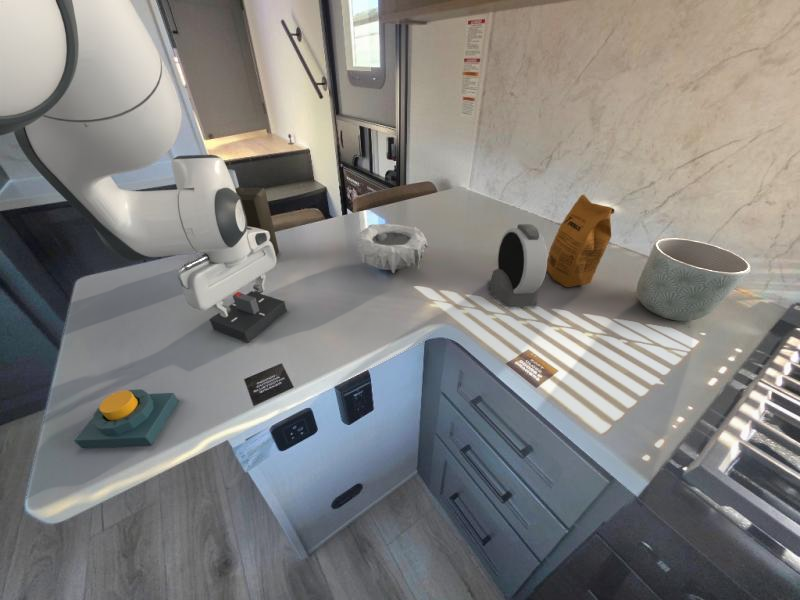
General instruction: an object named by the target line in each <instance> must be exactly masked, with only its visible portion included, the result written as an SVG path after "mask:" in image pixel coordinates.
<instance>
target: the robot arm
mask: <svg viewBox="0 0 800 600" xmlns="http://www.w3.org/2000/svg"><path fill="white" fill-rule="evenodd" d="M172 79H173V78H172V77H171V74H170V72H169V70H168V68H167V66H166V64H165V62H164V60H163V58H162V56H161V54H160V51H159V50H158V48H157V45H156V44H155V42H154V40H153V39H152V37H151V35H150V33H149V31H148V29H147V27H146V26H145V24H144V22H143V20H142V19H141V16H140V14H139V13H138V12H137V10H136V8H135V6H134V5H133V3H132V1H131V0H0V136H4V135H7V134H11V133H13V134H14V138H15V139H16V141H17V143H18V146H19V148H20V149H21V151H22V153H23V154H24V156H25V157H26V158H27V160H28V161H29V162H30V163H31V165H32V166H33V167H34V168H35V169H36V170H37V172H38V173H39V174H40V175H41V176H42V177H43V178H44V179H45V180H46V182H47V183H49V184H50V185H51V187H53V188H54V190H56V192H57V193H59V195H60V196H62V198H64V199H65V200H66V201H67V202H68V204H69V205H71V206H72V208H73V209H74V210H75V211H76V212H77V213H79V214H80V216H82V217H83V218H84V219H85V220H86V221H87V222H88V223H89V224H90V225H91V227H93V229H94V231H95V232H96V233H97V235H98V237H99V239H100V240H101V241H102V242H103V244H104V246H106V248H108V249H109V250H110V251H111V252H113V253H114V254H116V255H117V256H119V257H121V258H123V259H126V260H128V261H131V262H135V263H136V262H142V261H149V260H153V259H159V258H162V257H173V256H181V255H189V254H191V255H192V254H200V255H199V256H197V257H195V258H194V259H192V260H190V261H187V262H185V263H182V265H181V268H179V270H178V272H177V278H178V281H179V284H180V285H181V287H182V291H183V295H184V299H185V301H186V303H187V305H188V306H189V307H191V308H194V309H197V310H200V311H207V310H209V309H210V308H214V309H216V310H217V311H218V313H219V314H220V315H221V316H223V317H227V316H229V315H230V314H231V313H232V312H231V309H230V307H228V306H229V305H228V306H226V305H224V301H223V300H224V299H226V298H227V297H228V298H229V296H231V295H232V294H235V293H237V292H238V291H239V290H240V289H242V288H243V287H245V286H247V285H248V284H250V283H252V282H254V281H255V284H254V285H252V289H253V292H255V293H258V294H263V293H264V292H265V291H266V290H265V289H266V288H265V286H264V285H265V282H266V278H267V275H266V273H268V272H269V271H271V270H272V269H274V268H275V267H276V265H277V262H278V261H277V256H276V255H275V251H274V248H273V245H272V243H271V242H270V241H269V240H270V234H269V232H268V231H266V230H263V229H259V228H254V227H249V226H247V219H246V215H245V211H244V208H243V204H242V200H241V197H240V196H239V195H237V193H236V190H235V187H234V184H233V181H232V179H231V176H230V174H229V171H228V170H229V169H228V167H227V165H226V162H225V161H224V159H223V158H222V157H220V156H218V155H216V154H187V155H186V154H185V155H178V156H175V157H174V158H172V159H171V169H172V174H173V178H174V181H175V182H174V183H175V185H176V189H160V190H144V191H143V190H127V189H122V188H119V186H118V185H117V183H116V182H115V180H114V179H113V178H112V177H113V176H116V175H121V174H125V173H130V172H135V171H138V170H143V169H145V168H147V167H150V166H152V165H153V164H155V163H156V162H158V161H159V160H161V159H162V158H163V157H164V156H165V155H166V154H167V153H168V152H169V151H170V150H171V148H172V147H173V145H174V144H175V142H176V141H177V139H178V136H179V134H180V131H181V127H182V118H183V117H182V116H183V114H182V113H183V112H182V107H181V102H180V99H179V96H178V93H177V89H176V87H175V84H174V82H173V80H172Z"/></svg>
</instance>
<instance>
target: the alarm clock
mask: <svg viewBox="0 0 800 600" xmlns="http://www.w3.org/2000/svg"><path fill="white" fill-rule="evenodd" d="M547 259H548V249H547V246H546V241H545V239H544V237H543V235H542V234H541V233H540V232H539V229H538V228H537V227H536V226H535V225H533V224H531V223H530V224H529V223H521V224H520V223H518V224H517V227H510V228H509V229H507V230H506V231H505V232H504V234H503V235H502V237H501V239H500V242H499V245H498V250H497V257H496V265H497V266H496V268H495V269H494V270H493V271H492V274H491V277H490V281H489V288H490V290H491V293H492V295H493V296H494V298H496V299H497V301H498V302H500V304H502V305H503V306H505V307H507V308H521V307H522V308H523V307H534V306H536V301H537V297H538V292H539V291H538V290H539V288H540V287H541V286H542V284H543V282H544V280H545V277H546V273H547V271H546V269H547Z"/></svg>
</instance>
